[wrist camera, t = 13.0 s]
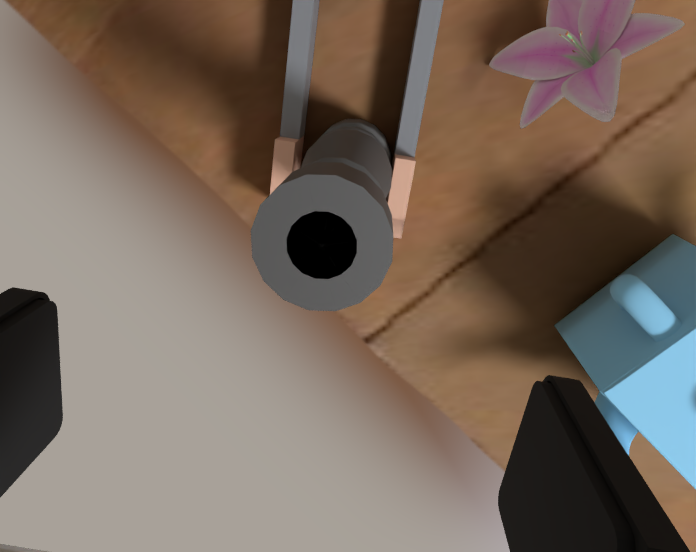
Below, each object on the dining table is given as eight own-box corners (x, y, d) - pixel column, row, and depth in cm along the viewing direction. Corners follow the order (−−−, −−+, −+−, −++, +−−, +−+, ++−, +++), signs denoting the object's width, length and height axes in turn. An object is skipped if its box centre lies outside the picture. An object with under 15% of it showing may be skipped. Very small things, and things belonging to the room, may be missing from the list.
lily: (640, -49, 39) (634, -116, 31) (710, 94, 38) (722, 65, 30) (490, 47, 45) (452, 12, 37) (547, 173, 44) (519, 166, 36)
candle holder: (384, 111, 43) (387, 152, 20) (395, 186, 45) (411, 305, 22) (309, 125, 44) (226, 181, 20) (324, 199, 46) (264, 327, 22)
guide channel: (302, -32, 40) (292, -47, 35) (442, -11, 40) (450, -22, 35) (279, 203, 46) (267, 217, 41) (399, 222, 46) (401, 238, 41)
